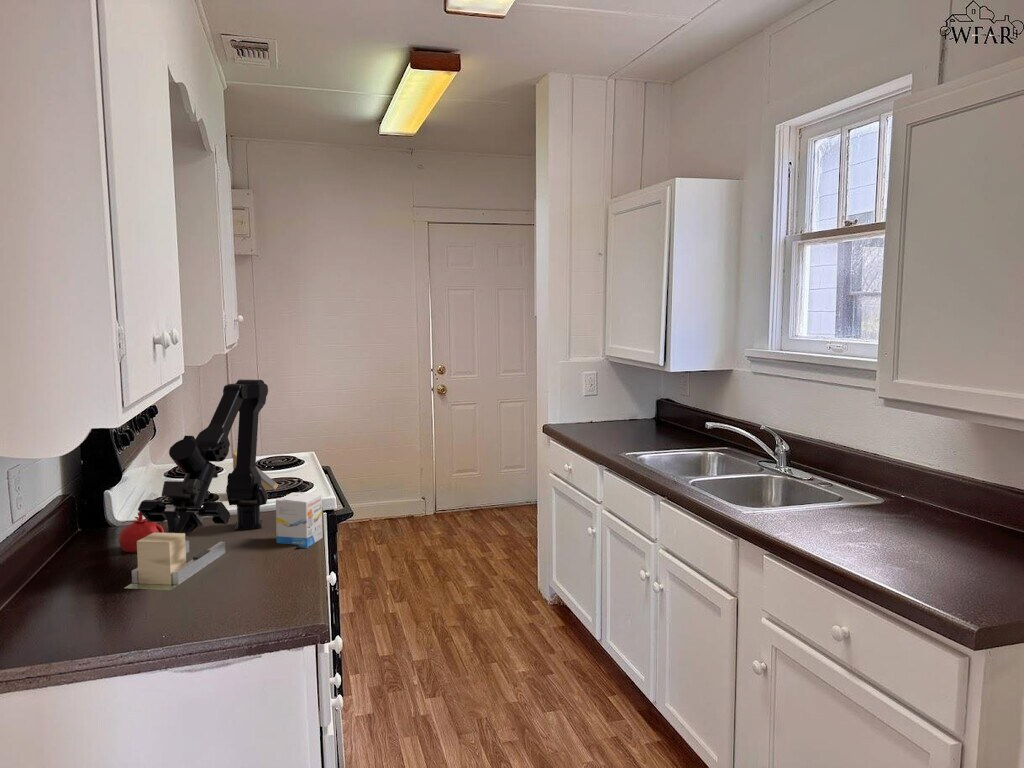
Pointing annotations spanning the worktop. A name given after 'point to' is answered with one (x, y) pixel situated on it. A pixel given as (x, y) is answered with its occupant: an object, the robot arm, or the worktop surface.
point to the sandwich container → (265, 480)
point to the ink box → (299, 519)
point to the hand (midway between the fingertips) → (170, 546)
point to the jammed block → (160, 557)
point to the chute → (183, 568)
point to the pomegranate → (137, 533)
